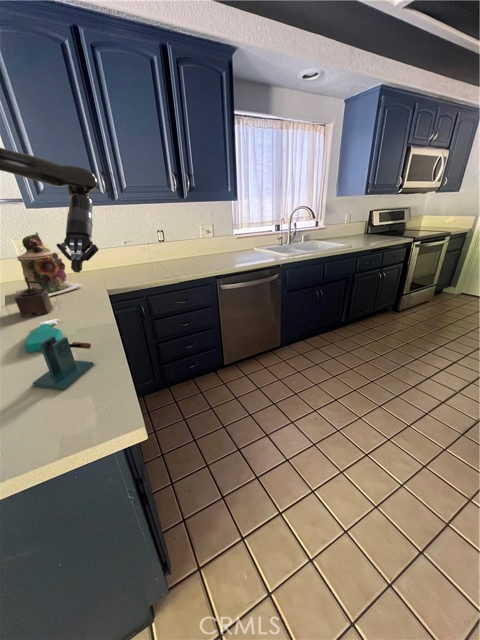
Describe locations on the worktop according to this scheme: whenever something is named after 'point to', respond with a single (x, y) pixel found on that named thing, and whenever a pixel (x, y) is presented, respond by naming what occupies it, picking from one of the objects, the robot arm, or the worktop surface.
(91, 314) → the worktop surface
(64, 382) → the teal lever stand
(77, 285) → the cookie jar
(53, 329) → the spray bottle
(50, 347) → the lever handle
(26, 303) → the manual coffee grinder
